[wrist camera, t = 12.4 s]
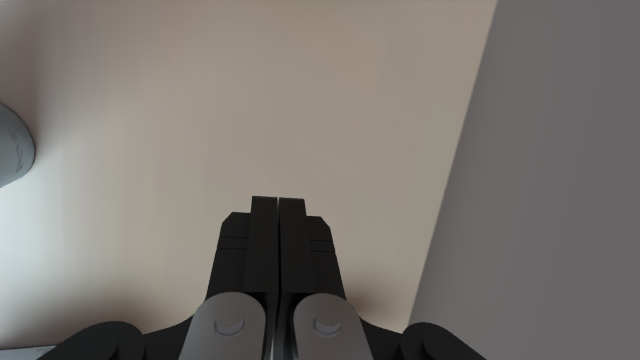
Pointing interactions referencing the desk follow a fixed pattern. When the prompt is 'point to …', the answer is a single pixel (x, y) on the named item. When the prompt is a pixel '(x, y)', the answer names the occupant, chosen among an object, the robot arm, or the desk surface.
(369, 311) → the desk surface
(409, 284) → the desk surface
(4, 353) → the tea box
